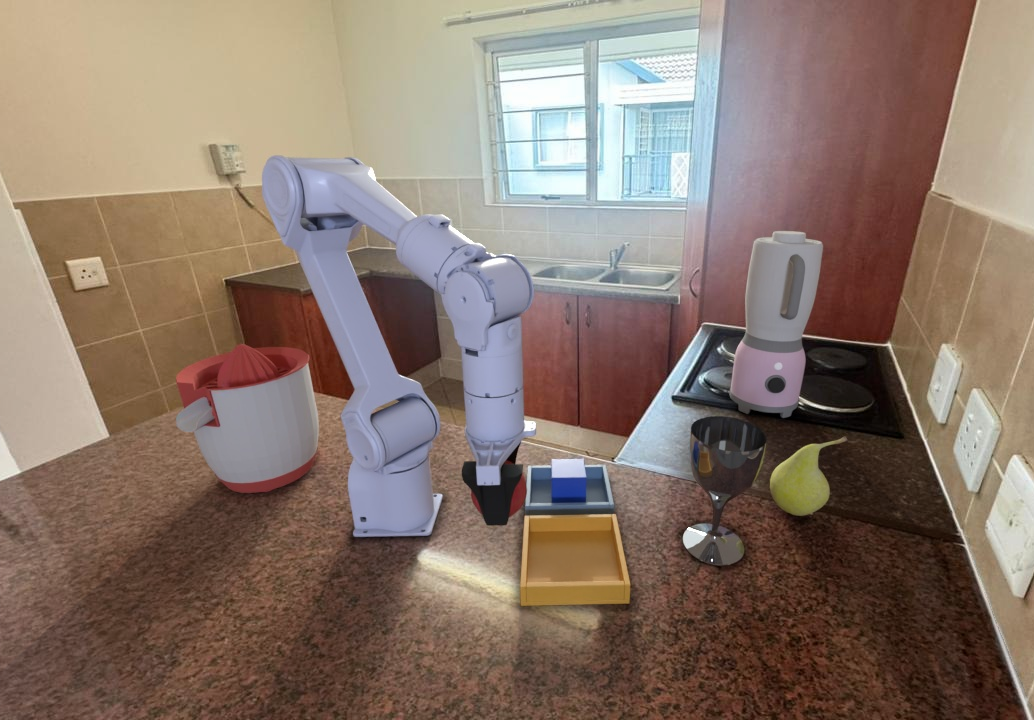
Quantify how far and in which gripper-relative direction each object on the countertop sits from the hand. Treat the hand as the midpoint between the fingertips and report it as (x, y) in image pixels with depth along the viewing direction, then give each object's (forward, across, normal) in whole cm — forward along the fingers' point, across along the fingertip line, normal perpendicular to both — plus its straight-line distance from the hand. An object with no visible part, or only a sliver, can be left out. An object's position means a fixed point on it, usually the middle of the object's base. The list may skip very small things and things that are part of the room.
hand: (499, 503), depth 53 cm
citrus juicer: (+9, +19, +36) cm, 42 cm away
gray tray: (+9, +12, -8) cm, 17 cm away
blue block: (+8, +12, -8) cm, 17 cm away
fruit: (+9, +10, -38) cm, 40 cm away
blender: (+9, +40, -46) cm, 61 cm away
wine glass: (+9, +4, -25) cm, 27 cm away
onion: (+2, 0, 0) cm, 2 cm away
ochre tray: (+9, 0, -8) cm, 12 cm away
